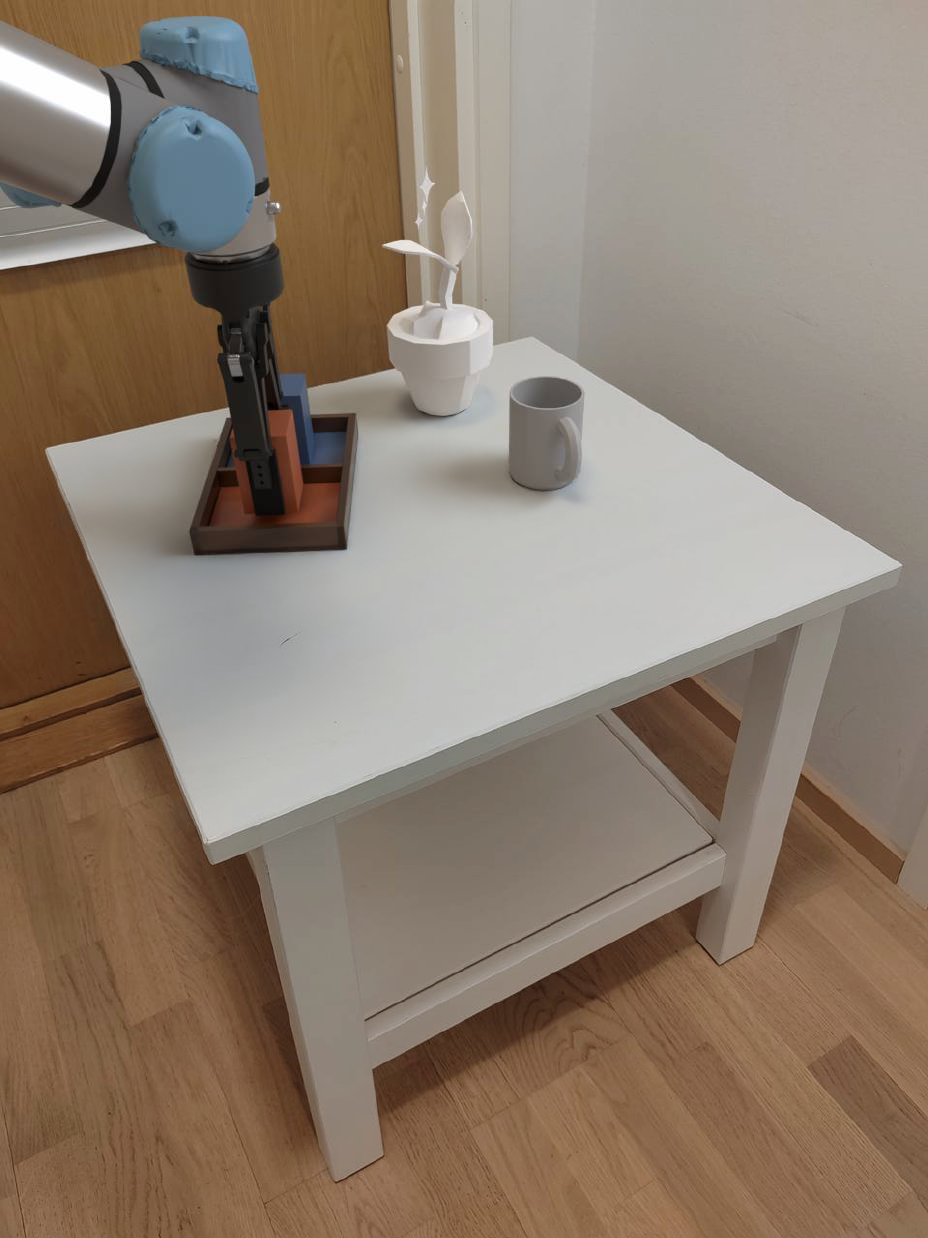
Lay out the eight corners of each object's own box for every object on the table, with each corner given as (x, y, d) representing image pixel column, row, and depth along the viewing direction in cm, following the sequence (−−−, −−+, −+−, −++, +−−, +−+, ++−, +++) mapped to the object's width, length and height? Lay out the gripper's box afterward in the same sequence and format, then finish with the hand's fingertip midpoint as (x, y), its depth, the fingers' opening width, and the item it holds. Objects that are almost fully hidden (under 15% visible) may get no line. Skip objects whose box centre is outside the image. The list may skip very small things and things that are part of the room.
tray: (194, 555, 88) (188, 531, 86) (230, 438, 105) (226, 417, 103) (346, 549, 88) (344, 525, 86) (358, 434, 105) (355, 412, 103)
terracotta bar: (244, 514, 89) (229, 437, 84) (251, 486, 93) (237, 411, 88) (298, 512, 89) (286, 435, 84) (303, 484, 93) (292, 409, 88)
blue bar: (261, 468, 98) (249, 397, 93) (267, 444, 102) (255, 374, 97) (310, 466, 98) (300, 395, 93) (314, 443, 102) (305, 372, 97)
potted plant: (456, 373, 116) (450, 151, 100) (513, 409, 109) (516, 175, 93) (366, 402, 111) (344, 171, 95) (418, 441, 103) (405, 199, 87)
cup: (557, 449, 101) (561, 370, 96) (606, 494, 94) (613, 412, 89) (496, 464, 99) (496, 384, 93) (542, 511, 92) (545, 428, 86)
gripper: (264, 286, 69) (305, 549, 84) (289, 210, 83) (321, 448, 98) (160, 290, 69) (219, 553, 84) (203, 213, 83) (247, 451, 98)
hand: (274, 496), depth 91 cm, fingers closed on terracotta bar, 5 cm apart
